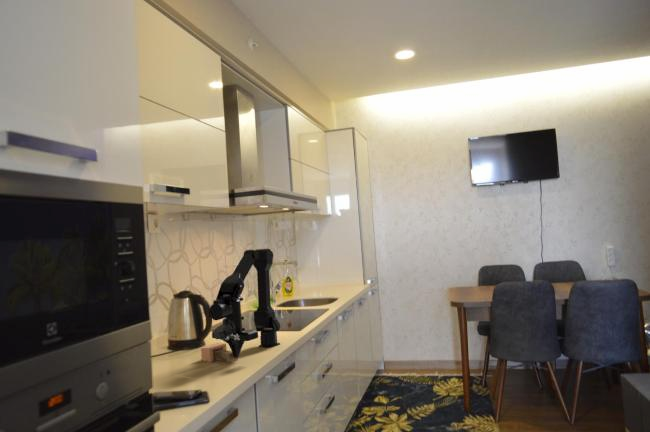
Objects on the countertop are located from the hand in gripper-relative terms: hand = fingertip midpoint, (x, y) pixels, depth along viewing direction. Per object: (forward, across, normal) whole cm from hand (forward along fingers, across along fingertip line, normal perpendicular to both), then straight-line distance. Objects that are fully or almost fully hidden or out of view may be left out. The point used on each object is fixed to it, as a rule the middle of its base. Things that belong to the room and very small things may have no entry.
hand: (236, 358), depth 172 cm
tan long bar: (+1, -9, 0) cm, 9 cm away
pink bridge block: (+1, -12, 0) cm, 12 cm away
